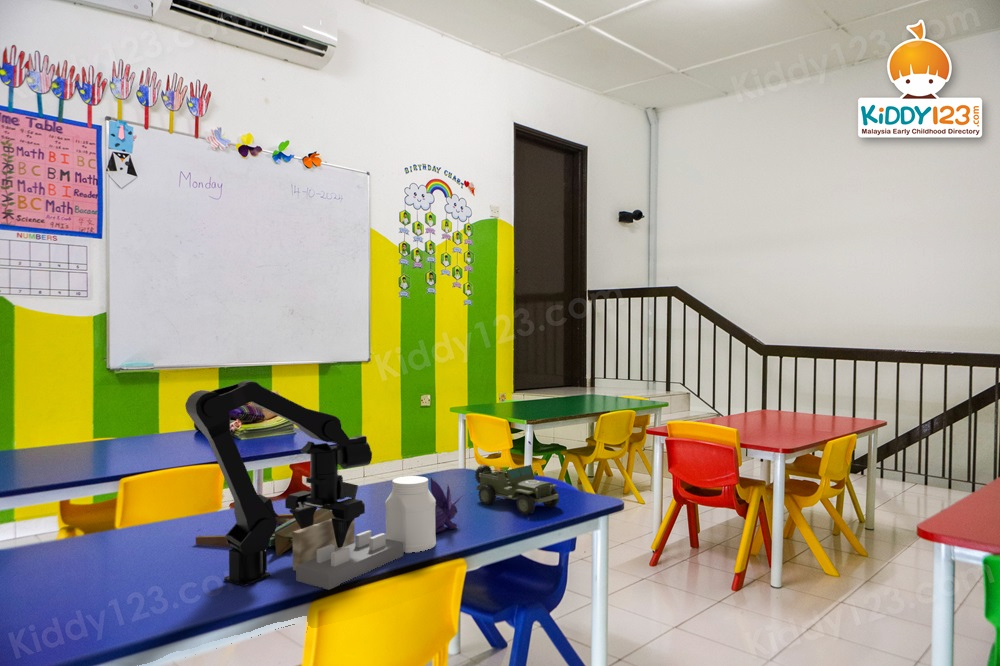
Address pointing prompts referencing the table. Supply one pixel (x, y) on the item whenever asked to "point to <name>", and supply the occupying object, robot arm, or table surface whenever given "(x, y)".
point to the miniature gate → (281, 535)
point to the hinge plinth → (348, 560)
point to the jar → (411, 514)
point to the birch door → (316, 541)
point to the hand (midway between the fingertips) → (324, 544)
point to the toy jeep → (515, 488)
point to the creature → (443, 507)
